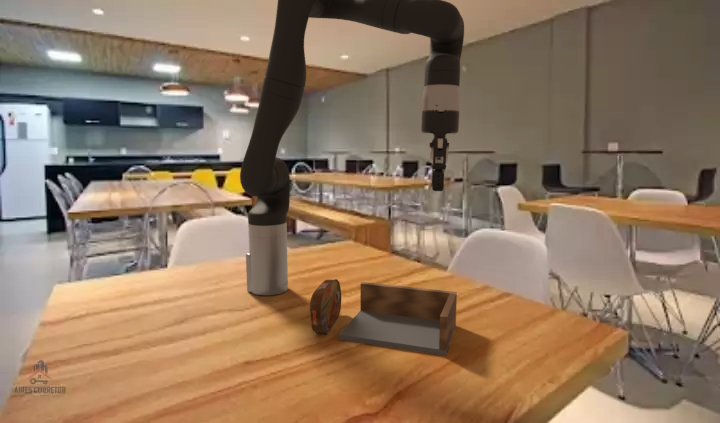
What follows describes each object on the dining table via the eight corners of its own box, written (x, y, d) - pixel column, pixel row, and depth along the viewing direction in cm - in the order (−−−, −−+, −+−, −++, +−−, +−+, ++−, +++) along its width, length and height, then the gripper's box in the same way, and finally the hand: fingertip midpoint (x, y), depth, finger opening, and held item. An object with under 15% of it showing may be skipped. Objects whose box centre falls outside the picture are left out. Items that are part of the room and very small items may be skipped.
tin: (323, 340, 83) (323, 297, 81) (307, 339, 83) (306, 296, 82) (342, 311, 97) (342, 274, 96) (328, 310, 98) (328, 273, 97)
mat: (338, 339, 83) (338, 334, 83) (362, 313, 96) (362, 308, 96) (445, 355, 77) (446, 350, 76) (455, 325, 90) (455, 320, 90)
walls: (338, 334, 83) (338, 303, 82) (362, 308, 96) (362, 281, 95) (446, 350, 76) (447, 317, 76) (455, 320, 90) (456, 291, 89)
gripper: (422, 112, 98) (419, 185, 100) (421, 106, 84) (418, 191, 86) (456, 112, 97) (453, 186, 99) (462, 106, 83) (457, 193, 85)
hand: (437, 188), depth 93 cm, fingers open, 8 cm apart
